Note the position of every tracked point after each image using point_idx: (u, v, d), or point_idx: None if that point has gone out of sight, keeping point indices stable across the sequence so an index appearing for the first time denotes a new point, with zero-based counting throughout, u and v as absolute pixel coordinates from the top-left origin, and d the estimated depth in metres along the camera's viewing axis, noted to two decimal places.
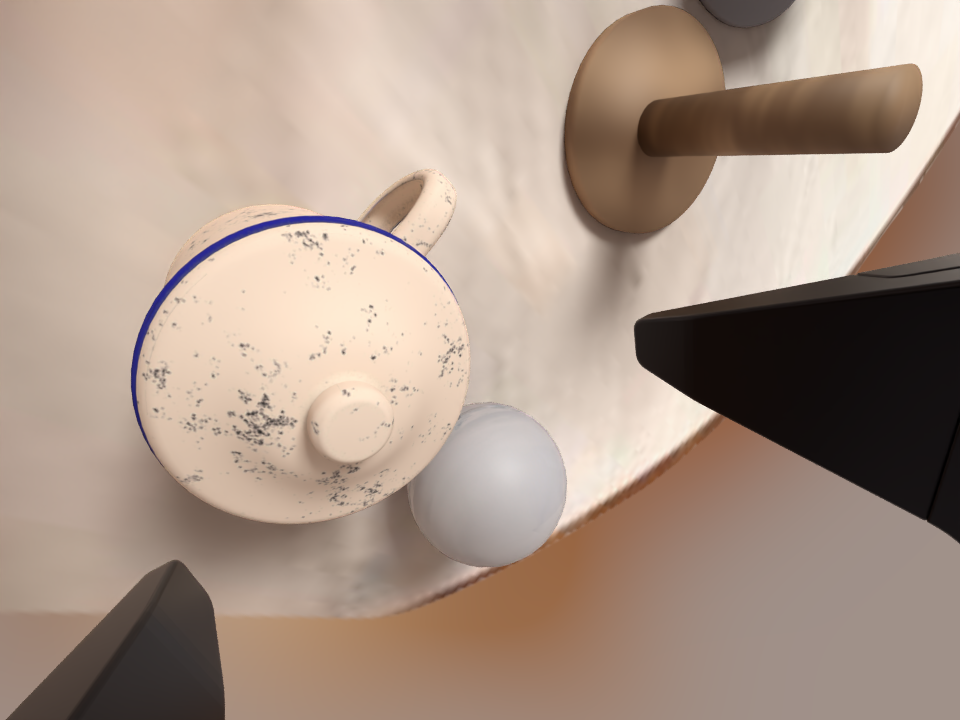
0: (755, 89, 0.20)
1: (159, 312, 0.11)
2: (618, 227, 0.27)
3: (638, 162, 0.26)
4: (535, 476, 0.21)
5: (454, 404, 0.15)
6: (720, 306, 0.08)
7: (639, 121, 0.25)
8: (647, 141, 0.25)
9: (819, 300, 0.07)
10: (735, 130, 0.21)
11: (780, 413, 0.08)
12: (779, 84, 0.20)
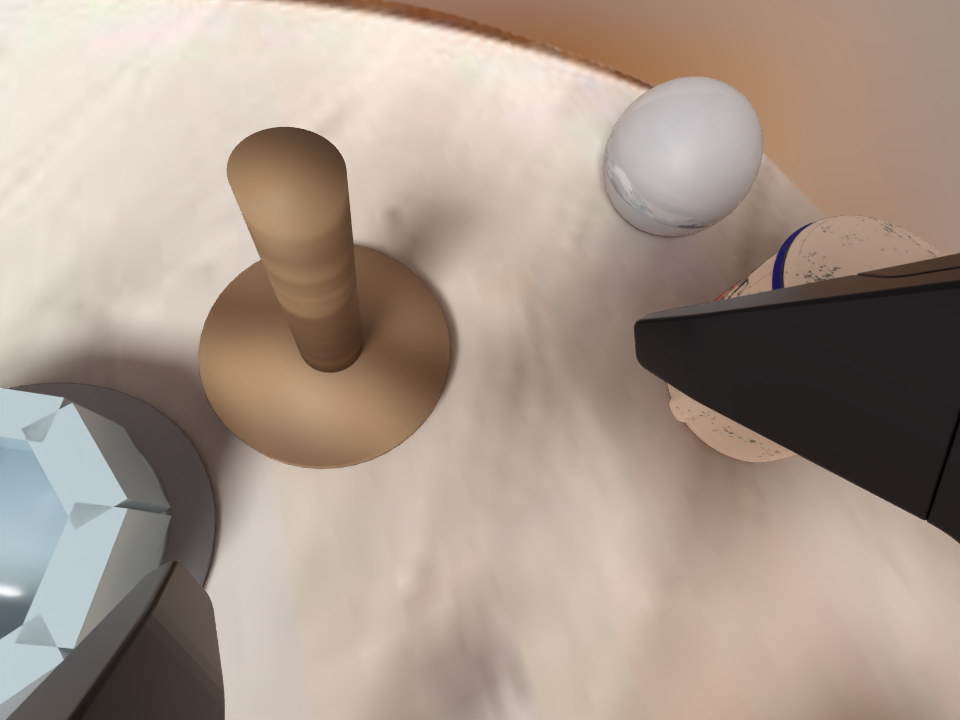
0: (318, 313, 0.16)
1: None
2: (416, 277, 0.24)
3: (369, 324, 0.23)
4: (697, 134, 0.22)
5: (819, 242, 0.18)
6: (720, 306, 0.08)
7: (355, 361, 0.22)
8: None
9: (819, 300, 0.07)
10: (356, 286, 0.17)
11: (780, 413, 0.08)
12: (310, 300, 0.15)
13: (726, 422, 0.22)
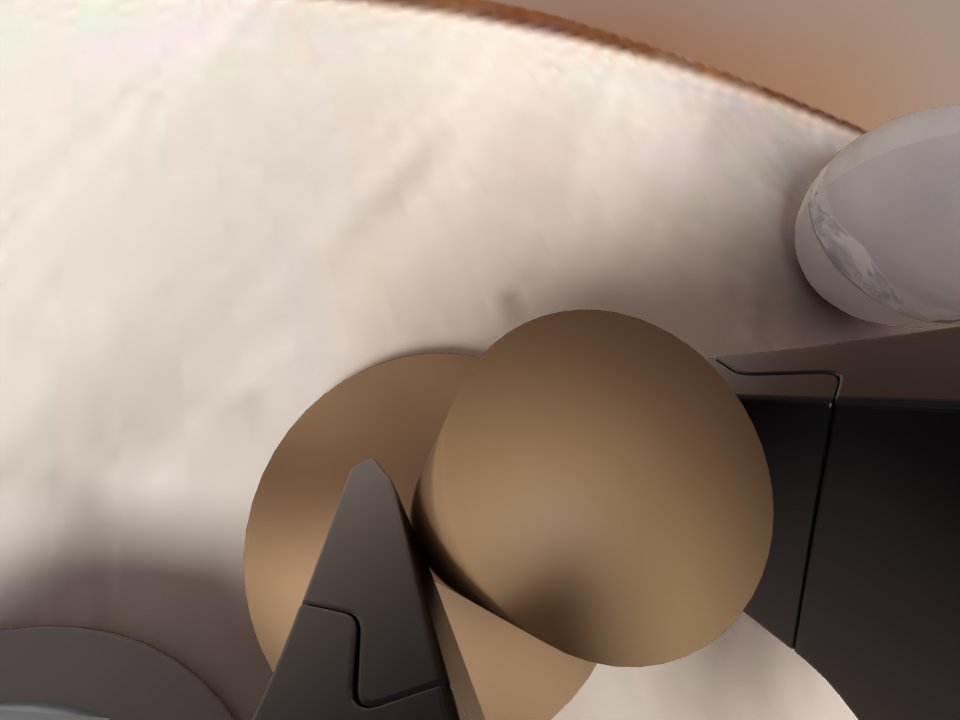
0: None
1: None
2: None
3: None
4: None
5: None
6: None
7: None
8: None
9: None
10: None
11: None
12: None
13: None
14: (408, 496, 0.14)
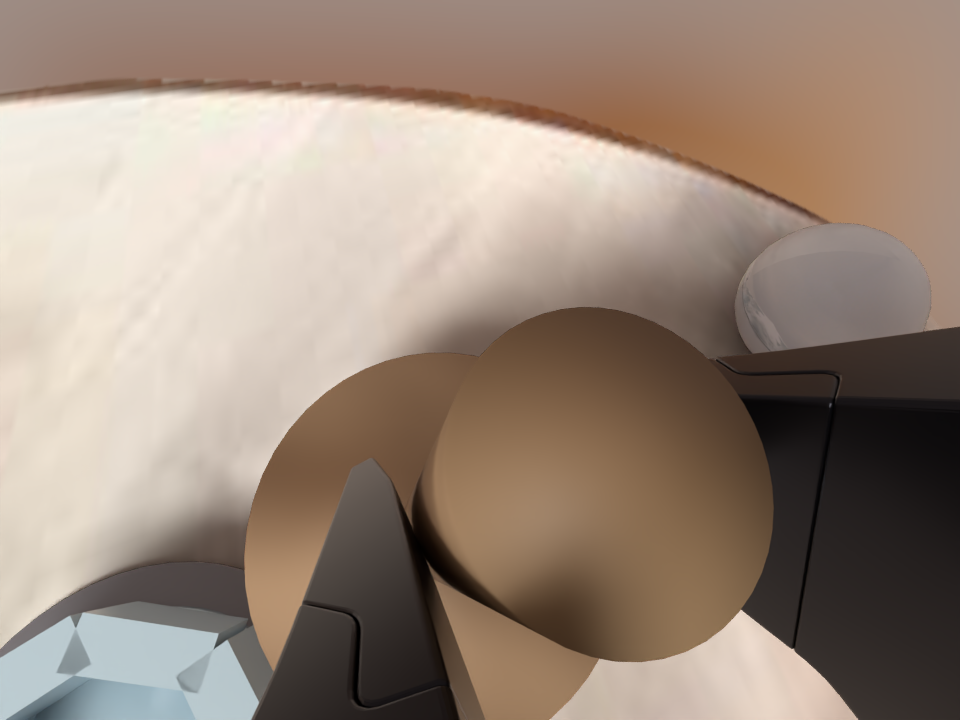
0: None
1: None
2: None
3: None
4: (870, 301, 0.20)
5: None
6: None
7: None
8: None
9: None
10: None
11: None
12: None
13: None
14: (408, 495, 0.14)
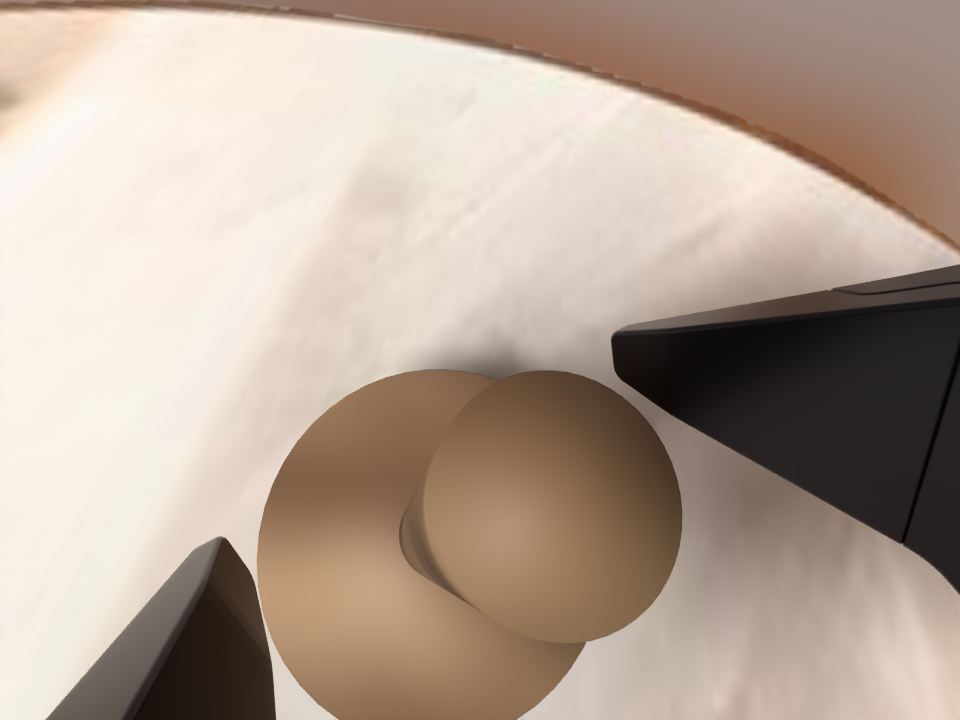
0: None
1: None
2: None
3: None
4: None
5: None
6: (695, 320, 0.08)
7: None
8: None
9: (790, 317, 0.06)
10: None
11: (755, 430, 0.08)
12: None
13: None
14: (406, 502, 0.15)
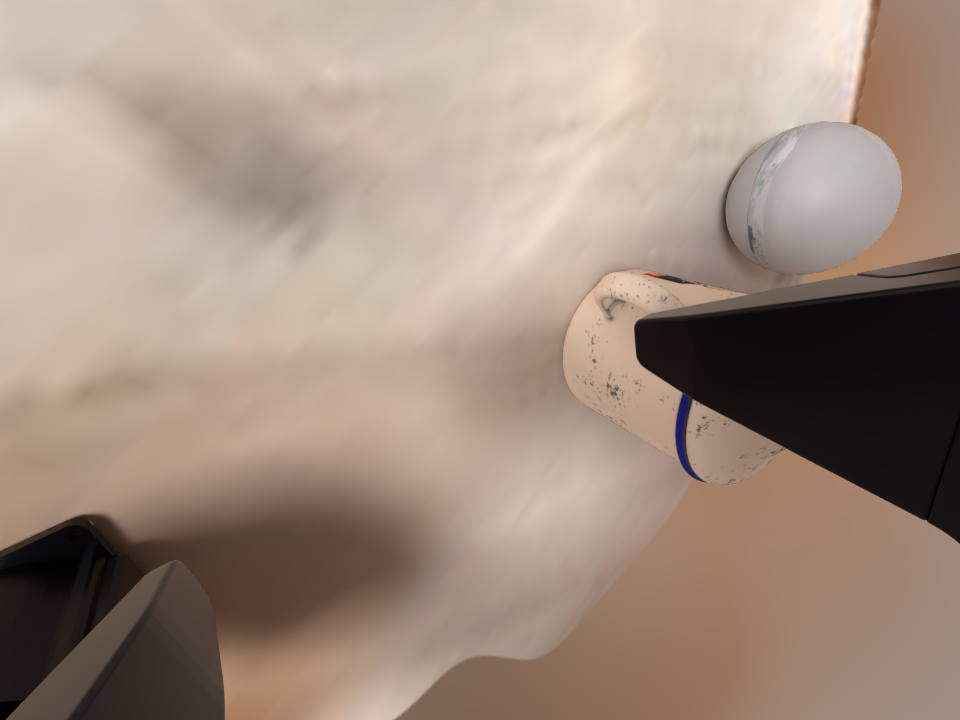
0: None
1: (703, 479, 0.22)
2: None
3: None
4: (855, 194, 0.23)
5: None
6: (720, 306, 0.08)
7: None
8: None
9: (819, 300, 0.07)
10: None
11: (780, 413, 0.08)
12: None
13: (601, 334, 0.24)
14: None
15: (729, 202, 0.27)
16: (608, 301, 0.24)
